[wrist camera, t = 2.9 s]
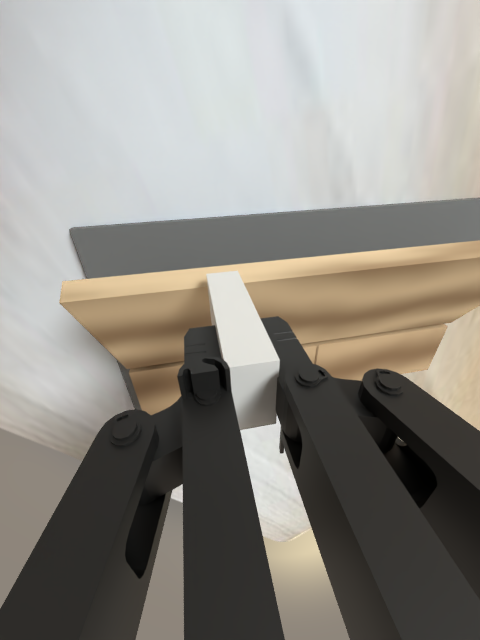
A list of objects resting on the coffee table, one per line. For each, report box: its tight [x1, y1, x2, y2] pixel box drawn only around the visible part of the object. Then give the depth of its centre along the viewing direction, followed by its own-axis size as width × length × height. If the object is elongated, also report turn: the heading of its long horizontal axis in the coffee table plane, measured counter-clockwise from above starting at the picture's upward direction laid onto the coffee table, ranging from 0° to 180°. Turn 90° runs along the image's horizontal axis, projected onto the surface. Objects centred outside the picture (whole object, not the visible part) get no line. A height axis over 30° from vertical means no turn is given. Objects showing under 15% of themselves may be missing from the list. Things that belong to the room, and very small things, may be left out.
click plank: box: [59, 240, 480, 369], centre depth 19 cm, size 10×29×1 cm
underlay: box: [69, 198, 480, 410], centre depth 23 cm, size 17×31×1 cm, turn 92°
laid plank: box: [129, 324, 448, 415], centre depth 25 cm, size 6×29×1 cm, turn 92°
